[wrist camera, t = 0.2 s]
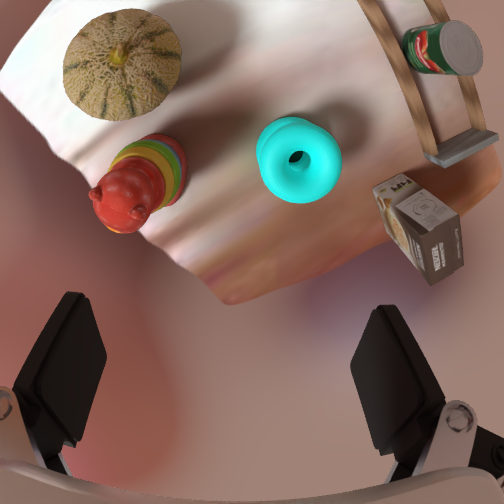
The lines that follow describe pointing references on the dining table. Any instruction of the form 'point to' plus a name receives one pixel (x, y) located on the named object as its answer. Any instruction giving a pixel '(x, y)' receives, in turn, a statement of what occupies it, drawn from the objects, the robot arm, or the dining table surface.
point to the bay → (444, 151)
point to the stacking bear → (140, 183)
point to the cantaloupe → (122, 64)
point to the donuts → (307, 168)
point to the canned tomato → (443, 49)
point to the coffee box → (421, 227)
